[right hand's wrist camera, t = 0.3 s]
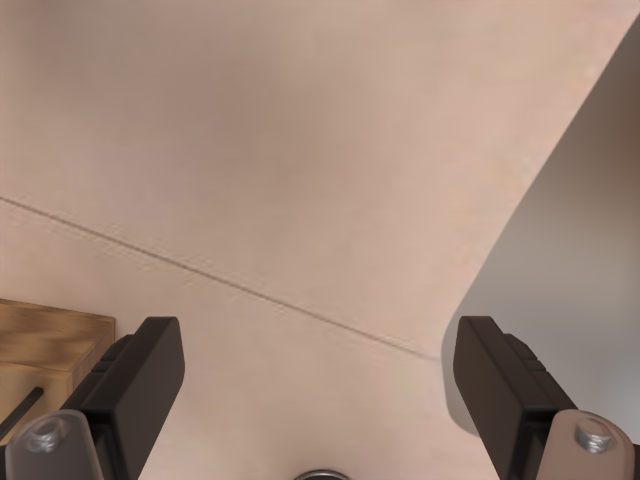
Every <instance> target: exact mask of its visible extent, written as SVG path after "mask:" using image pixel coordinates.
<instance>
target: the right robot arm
mask: <svg viewBox="0 0 640 480" xmlns="http://www.w3.org/2000/svg"><path fill="white" fill-rule="evenodd" d="M184 372H185V361H184V354H183V347H182V340H181V333H180V326H179V321H178V319H177V318H176V317H147V318H146V319H145V320H144V322H143V323H142V324H141V326H140V327H139V328H138V330H137V331H136V332H135V334H134V335H126V336H124V337H123V338H121V339H120V340H118V341H117V342H115V343H114V344H112V345H111V346H110V347H109V348H108V350H107V351H106V352H105V353H104V355H103V356H102V357H101V358H100V361H98V362H97V363H96V364H95V366H94V367H93V368H92V369H91V373H88V374H87V375H86V377H85V378H84V379H83V380H82V382H81V383H80V384H79V385H78V387H77V388H76V389H75V390H74V392H73V393H72V394H71V395H70V396H69V398H68V399H67V400H66V401H65V403H64V404H63V405H62V406H61V408H60V409H59V410H57V411H53V412H49V413H46V414H44V415H41V416H39V417H37V418H35V419H33V420H31V421H30V422H28V423H27V424H25V425H24V426H23V427H21V428H20V429H19V430H18V431H17V432H16V433H15V434H14V435H13V436H12V437H11V438H10V440H9V442H8V443H7V444H5V445H2V446H0V480H138V478H139V476H140V474H141V472H142V469H143V467H144V465H145V463H146V461H147V459H148V456H149V454H150V452H151V450H152V448H153V446H154V444H155V441H156V439H157V437H158V435H159V433H160V431H161V429H162V426H163V424H164V422H165V420H166V418H167V416H168V413H169V411H170V409H171V407H172V405H173V403H174V401H175V398H176V396H177V394H178V392H179V390H180V388H181V385H182V382H183V379H184ZM453 372H454V378H455V382H456V385H457V387H458V389H459V391H460V393H461V396H462V398H463V400H464V402H465V404H466V406H467V409H468V411H469V413H470V415H471V417H472V420H473V422H474V424H475V426H476V428H477V431H478V433H479V435H480V437H481V439H482V441H483V444H484V446H485V448H486V450H487V452H488V454H489V457H490V459H491V461H492V463H493V465H494V468H495V470H496V472H497V474H498V476H499V478H500V480H640V445H637V444H633V443H632V442H631V440H630V439H629V437H628V436H627V435H626V434H625V433H624V432H623V431H622V430H621V429H620V428H619V427H617V426H616V425H615V424H613V423H612V422H610V421H609V420H607V419H605V418H603V417H601V416H599V415H596V414H594V413H591V412H587V411H583V410H579V409H578V408H577V407H576V405H575V404H574V403H573V402H572V401H571V399H570V398H569V397H568V396H567V394H566V393H565V392H564V391H563V389H562V388H561V387H560V386H559V384H558V383H557V382H556V381H555V379H554V378H553V377H552V376H551V374H550V373H549V372H546V368H545V367H544V366H543V364H542V363H541V362H540V361H538V360H537V357H536V356H535V354H534V353H533V352H532V351H531V350H530V348H529V347H528V346H527V345H526V344H525V343H523V342H522V341H520V340H519V339H517V338H516V337H514V336H513V335H512V334H503V332H502V331H501V330H500V328H499V327H498V326H497V324H496V323H495V322H494V320H493V319H492V318H491V317H490V316H462V317H461V318H460V320H459V325H458V332H457V339H456V346H455V353H454V360H453ZM296 480H350V479H348V478H347V477H346V476H344V475H342V474H340V473H337V472H333V471H326V470H319V471H312V472H309V473H306V474H303V475H301V476H300V477H298V478H297V479H296Z"/></svg>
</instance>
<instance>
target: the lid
mask: <svg viewBox="0 0 640 480" xmlns="http://www.w3.org/2000/svg"><path fill="white" fill-rule="evenodd" d="M72 393H73V388H72V373H70V372H64V371H58V370H51V369H45V368H38V367H32V366H26V365H19V364H13V363H6V362H0V446H2V445H5V444H7V443H8V442H9V440H10V438H11V437H12V436H13V435H14V434H15V433H16V432H17V431H18V430H19V429H20V428H21V427H23V426H24V425H25V424H27V423H28V422H30V421H31V420H33V419H35V418H37V417H39V416H41V415H44V414H46V413H49V412H53V411H57V410H59V409H60V408H61V406H62V405H63V404H64V403H65V401H66V400H67V399H68V398H69V396H70V395H71V394H72Z"/></svg>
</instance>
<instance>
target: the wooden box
mask: <svg viewBox="0 0 640 480" xmlns="http://www.w3.org/2000/svg"><path fill="white" fill-rule="evenodd" d="M114 332H115V318H112V317H106V316H100V315H94V314H88V313H82V312H76V311H70V310H64V309H58V308H52V307H46V306H40V305H34V304H28V303H22V302H16V301H10V300H4V299H0V362H6V363H13V364H19V365H26V366H32V367H38V368H45V369H51V370H58V371H64V372H70V373H72V388H73V392H74V390H75V389H76V388H77V387H78V385H79V384H80V383H81V382H82V380H83V379H84V378H85V377H86V375H87V374H88V373H91V369H92V368H93V367H94V366H95V364H96V363H97V362H98V361H100V358H101V357H102V356H103V355H104V353H105V352H106V351H107V350H108V348H109V347H110V346H111V345H112V344H114Z"/></svg>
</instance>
